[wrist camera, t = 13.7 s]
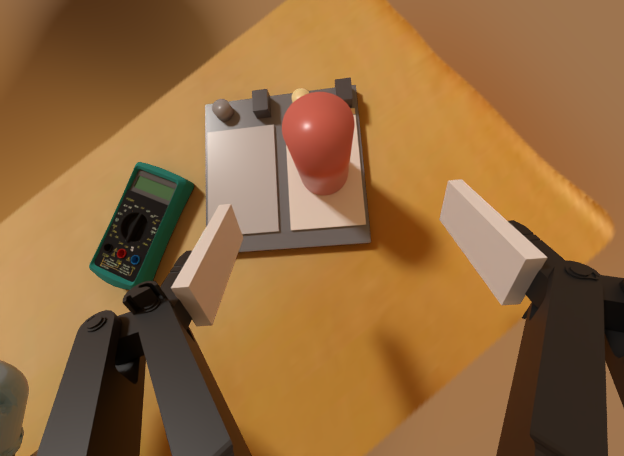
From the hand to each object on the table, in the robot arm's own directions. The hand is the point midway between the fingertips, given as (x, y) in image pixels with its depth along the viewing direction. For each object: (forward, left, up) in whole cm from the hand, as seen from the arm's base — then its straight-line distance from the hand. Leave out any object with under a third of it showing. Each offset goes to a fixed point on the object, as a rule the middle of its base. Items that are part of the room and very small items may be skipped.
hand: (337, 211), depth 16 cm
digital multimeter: (-24, +3, -14) cm, 28 cm away
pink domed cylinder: (-1, +7, -12) cm, 14 cm away
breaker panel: (-6, +8, -14) cm, 17 cm away
